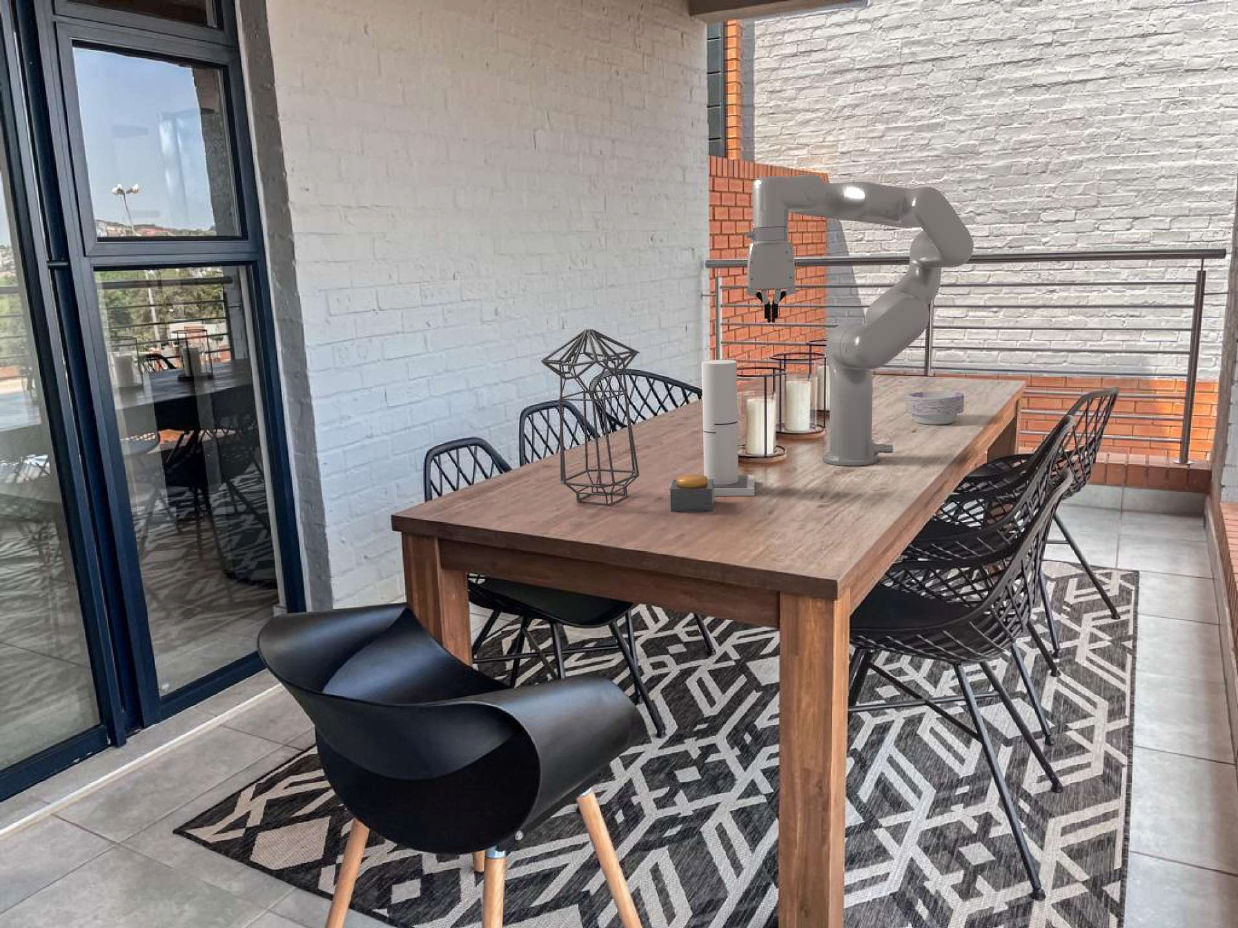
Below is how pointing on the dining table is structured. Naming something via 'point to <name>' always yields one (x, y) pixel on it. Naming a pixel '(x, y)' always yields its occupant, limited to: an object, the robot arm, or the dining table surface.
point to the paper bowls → (934, 406)
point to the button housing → (692, 498)
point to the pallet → (737, 487)
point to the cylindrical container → (720, 421)
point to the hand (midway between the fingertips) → (771, 322)
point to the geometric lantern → (579, 344)
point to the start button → (692, 481)
